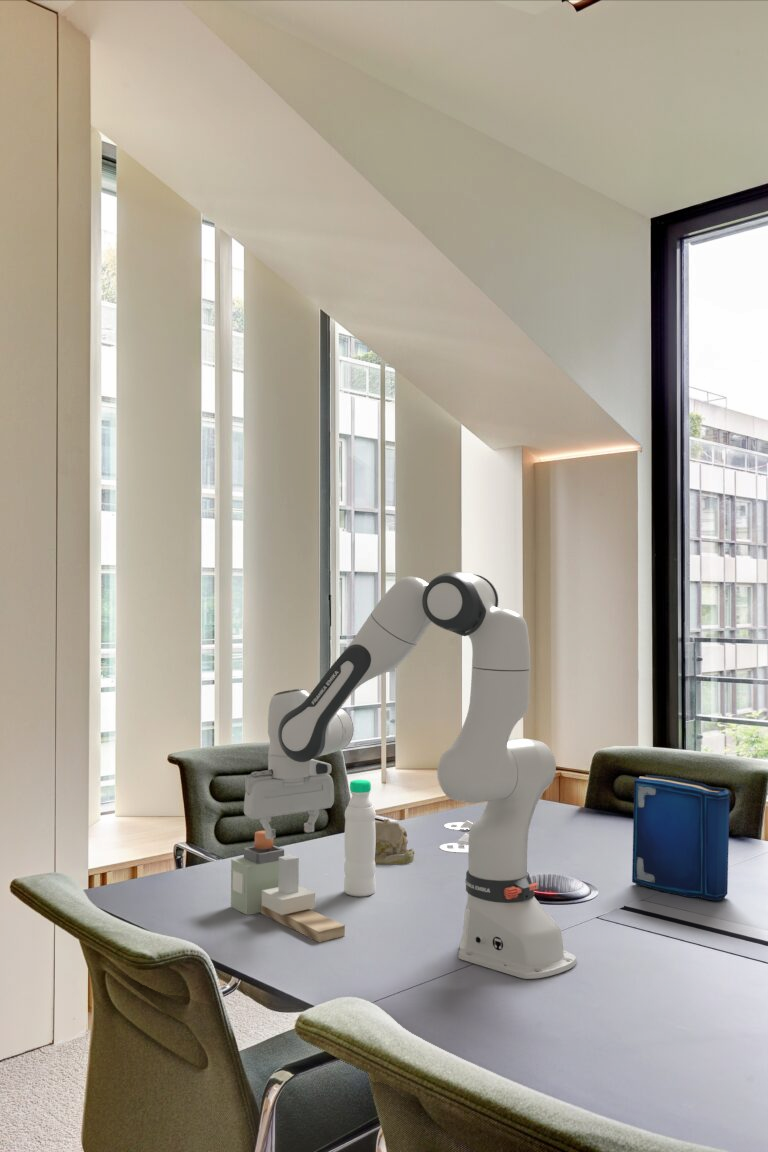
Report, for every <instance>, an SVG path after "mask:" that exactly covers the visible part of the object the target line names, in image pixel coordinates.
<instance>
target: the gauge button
mask: <svg viewBox="0 0 768 1152" xmlns="http://www.w3.org/2000/svg"><path fill="white" fill-rule="evenodd" d="M273 845H274V838H273V839H266V838H265V830H257V831H255V832H254V846H255V848H257V849H270V848H273Z"/></svg>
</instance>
